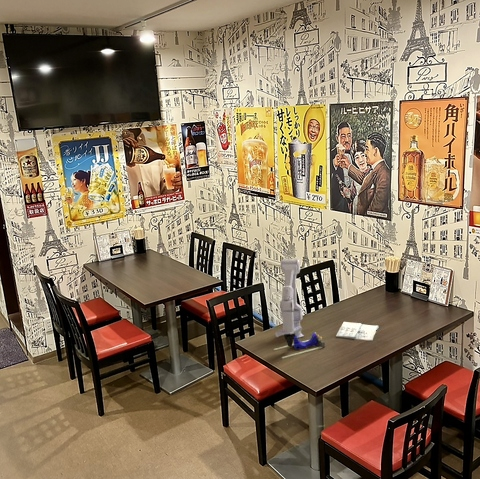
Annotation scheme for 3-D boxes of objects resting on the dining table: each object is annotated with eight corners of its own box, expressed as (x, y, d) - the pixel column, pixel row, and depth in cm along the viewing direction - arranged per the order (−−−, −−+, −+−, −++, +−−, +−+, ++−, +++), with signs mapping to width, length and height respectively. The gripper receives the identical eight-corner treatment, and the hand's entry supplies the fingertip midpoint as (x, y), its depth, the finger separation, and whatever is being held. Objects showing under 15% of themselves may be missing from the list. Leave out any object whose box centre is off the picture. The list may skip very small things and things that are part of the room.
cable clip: (295, 349, 260) (294, 339, 259) (294, 345, 264) (293, 335, 263) (318, 347, 261) (317, 336, 259) (316, 343, 265) (315, 333, 264)
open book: (344, 323, 286) (344, 320, 285) (379, 327, 277) (379, 324, 276) (335, 338, 270) (335, 334, 269) (372, 342, 261) (372, 339, 260)
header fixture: (273, 349, 262) (273, 341, 260) (314, 339, 269) (314, 330, 268) (282, 358, 252) (281, 350, 250) (324, 347, 259) (324, 338, 258)
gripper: (278, 328, 249) (280, 352, 252) (304, 321, 253) (305, 345, 257) (272, 323, 255) (274, 347, 258) (297, 316, 260) (299, 340, 263)
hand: (289, 346), depth 258 cm, fingers closed
